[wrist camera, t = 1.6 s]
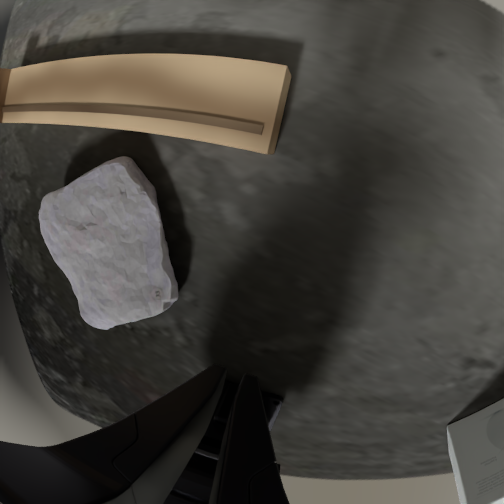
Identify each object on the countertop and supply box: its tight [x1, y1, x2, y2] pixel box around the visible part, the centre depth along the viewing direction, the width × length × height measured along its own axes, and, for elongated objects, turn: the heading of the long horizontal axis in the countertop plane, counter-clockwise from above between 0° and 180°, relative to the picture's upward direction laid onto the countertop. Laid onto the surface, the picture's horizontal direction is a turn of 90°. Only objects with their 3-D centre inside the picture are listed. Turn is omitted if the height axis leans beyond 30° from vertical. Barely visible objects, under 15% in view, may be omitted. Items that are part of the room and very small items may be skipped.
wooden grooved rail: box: [0, 54, 292, 154], centre depth 17 cm, size 5×26×4 cm, turn 78°
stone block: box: [39, 156, 179, 330], centre depth 21 cm, size 12×5×10 cm
